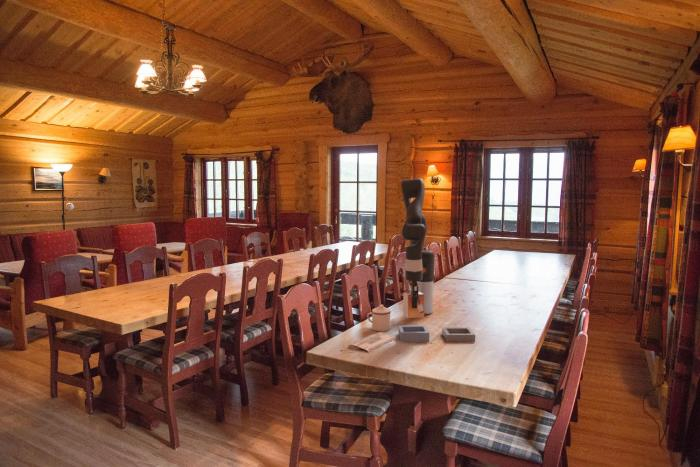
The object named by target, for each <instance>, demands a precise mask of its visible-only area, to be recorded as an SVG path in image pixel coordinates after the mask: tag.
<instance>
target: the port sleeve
mask: <svg viewBox="0 0 700 467" xmlns="http://www.w3.org/2000/svg"><path fill="white" fill-rule="evenodd" d="M398 337H399V341H400V342H401V343H403V342H405V343H409V342H413V343H414V342H417V343H419V342H421V343H422V342H425V343H427V342H430V330H429V329H428V327H427V325H398Z"/></svg>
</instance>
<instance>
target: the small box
mask: <svg viewBox="0 0 700 467" xmlns="http://www.w3.org/2000/svg"><path fill="white" fill-rule="evenodd" d="M402 297H403V299H402V300H403V304H402V305H403V308H402V309H403V313H402V314H403V316H404V317H405V318H406V319H415V318H425V314H424V294H423V293H421V292H418V300H417V308H412V295H411V294H410V293H409V292H403V296H402ZM414 297H416V295H414Z"/></svg>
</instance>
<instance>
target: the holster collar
mask: <svg viewBox="0 0 700 467" xmlns="http://www.w3.org/2000/svg"><path fill="white" fill-rule="evenodd" d="M441 334H442V336H443V338H444V340H445V342H476V334H475V332H474V331H473V330H472V329H471V327H470V326H465V327H463V326H462V327H458V326H457V327H454V326H453V327H452V326H451V327H447V326H446V327H442V328H441Z"/></svg>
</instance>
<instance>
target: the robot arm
mask: <svg viewBox="0 0 700 467" xmlns="http://www.w3.org/2000/svg"><path fill="white" fill-rule="evenodd" d="M400 185H401V186H400V187H401V188H400V189H401V193H402V198H403V202H404V205H405V206H404V207H405V210H406V211H405V212H406V215H405V216H406V217H405V218H406V219H405V222H404V224H403V226H402V229H401V237H402V238H403V239H404V240H406V241H410V242H411V245H408V246H406V247H405V261H404V262H405V263H404V265H405V266H404V271H405V272H404V278H405V280H406V281H407V282H409V283H408V293H410V294H411V295H412V308H417V300H418V292H421V293H423V294H424V315H429V314H433V313H434V279H435V278H434V274H435V261H436V260H435V253H434V251H433V250H423V246H424V245H423V244H424V241H425V238H426V234H427V232H428V227H427V226H428V225H427V219H426V217H425V215H424V213H423V211H422V210H423V205H424V200H425V193H426V190H425V189H426V187H425V182H424V180H423V178H419V177H418V178H410V179H404V180H401V184H400ZM412 199H413V200H412ZM423 269H426V270H425V271H424V272H423ZM414 295H416V297H414Z"/></svg>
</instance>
